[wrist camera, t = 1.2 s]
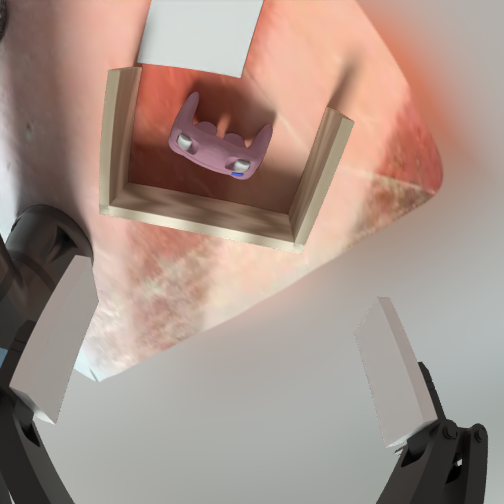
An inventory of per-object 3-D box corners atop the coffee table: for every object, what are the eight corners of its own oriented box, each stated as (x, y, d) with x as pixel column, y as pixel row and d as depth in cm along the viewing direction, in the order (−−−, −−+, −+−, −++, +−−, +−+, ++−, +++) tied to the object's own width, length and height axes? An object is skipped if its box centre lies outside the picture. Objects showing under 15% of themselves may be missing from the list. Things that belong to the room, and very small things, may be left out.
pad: (138, 62, 25) (137, 62, 24) (162, -28, 18) (161, -29, 18) (240, 77, 26) (240, 78, 26) (268, -14, 20) (268, -16, 20)
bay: (118, 189, 34) (99, 213, 29) (132, 66, 25) (108, 69, 20) (294, 224, 37) (301, 253, 32) (336, 110, 28) (354, 121, 24)
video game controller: (181, 116, 30) (156, 157, 27) (192, 85, 26) (165, 125, 23) (260, 150, 33) (248, 195, 30) (278, 123, 29) (268, 168, 26)
